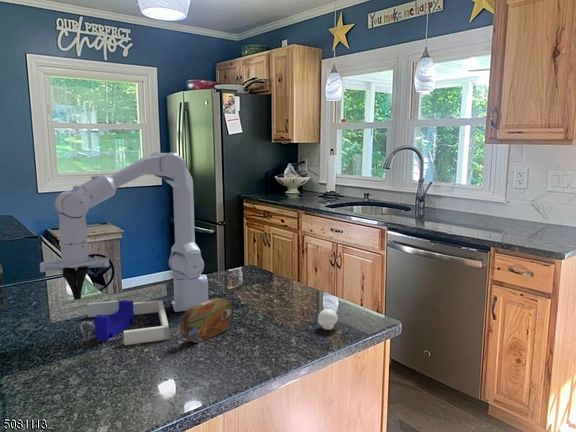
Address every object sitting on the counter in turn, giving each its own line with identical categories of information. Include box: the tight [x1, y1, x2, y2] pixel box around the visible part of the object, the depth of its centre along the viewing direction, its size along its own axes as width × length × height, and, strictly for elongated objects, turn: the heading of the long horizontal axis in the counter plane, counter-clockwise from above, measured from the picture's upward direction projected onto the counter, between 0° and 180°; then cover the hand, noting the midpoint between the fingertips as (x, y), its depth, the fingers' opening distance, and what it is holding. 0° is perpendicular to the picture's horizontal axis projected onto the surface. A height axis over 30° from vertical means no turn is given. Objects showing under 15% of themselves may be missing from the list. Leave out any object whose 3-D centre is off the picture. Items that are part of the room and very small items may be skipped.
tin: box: [180, 297, 234, 344], centre depth 105 cm, size 15×3×8 cm, turn 143°
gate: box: [86, 298, 123, 318], centre depth 117 cm, size 1×8×4 cm, turn 110°
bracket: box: [123, 299, 170, 346], centre depth 110 cm, size 10×20×3 cm, turn 20°
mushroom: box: [317, 308, 339, 331], centre depth 109 cm, size 5×5×5 cm
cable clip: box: [93, 299, 135, 342], centre depth 107 cm, size 12×4×6 cm, turn 170°
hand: (77, 298), depth 104 cm, fingers closed
